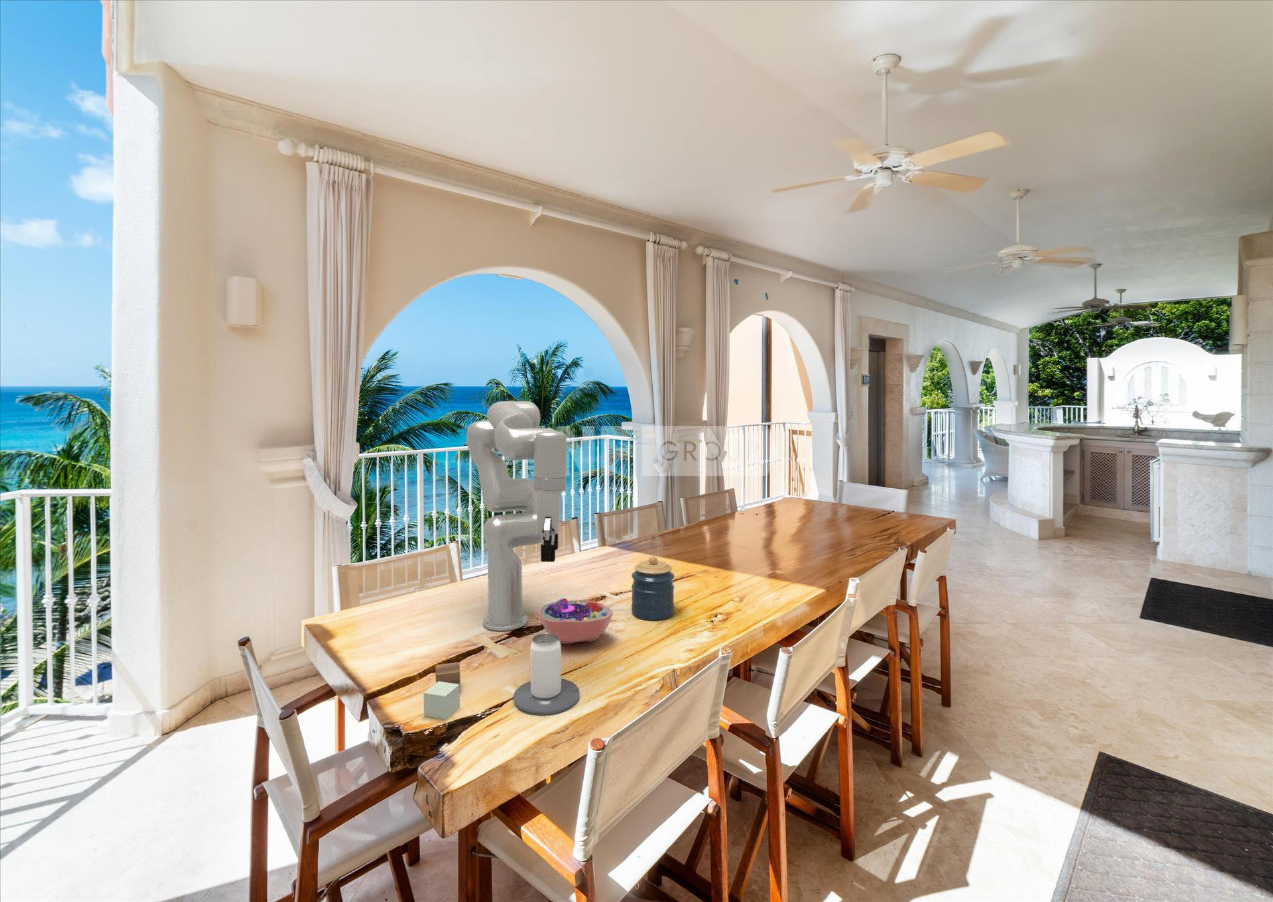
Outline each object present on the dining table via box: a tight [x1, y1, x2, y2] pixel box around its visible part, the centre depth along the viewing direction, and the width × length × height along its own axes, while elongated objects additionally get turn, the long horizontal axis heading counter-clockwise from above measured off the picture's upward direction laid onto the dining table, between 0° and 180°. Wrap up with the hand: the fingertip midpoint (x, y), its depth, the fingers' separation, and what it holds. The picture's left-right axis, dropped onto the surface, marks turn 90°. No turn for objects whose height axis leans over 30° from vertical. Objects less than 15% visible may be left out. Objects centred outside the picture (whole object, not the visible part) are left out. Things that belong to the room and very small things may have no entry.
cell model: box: [538, 597, 614, 644], centre depth 151 cm, size 17×20×11 cm
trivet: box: [513, 677, 580, 716], centre depth 122 cm, size 14×14×1 cm
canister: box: [630, 555, 675, 621], centre depth 171 cm, size 13×13×18 cm
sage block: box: [423, 681, 461, 721], centre depth 116 cm, size 5×5×5 cm
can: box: [529, 632, 562, 699], centre depth 122 cm, size 6×6×12 cm
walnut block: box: [435, 661, 461, 689], centre depth 125 cm, size 5×5×5 cm
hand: (549, 555), depth 134 cm, fingers open, 9 cm apart
